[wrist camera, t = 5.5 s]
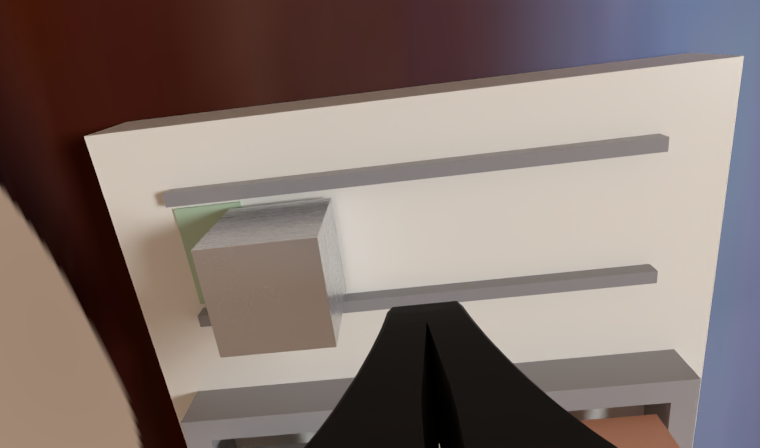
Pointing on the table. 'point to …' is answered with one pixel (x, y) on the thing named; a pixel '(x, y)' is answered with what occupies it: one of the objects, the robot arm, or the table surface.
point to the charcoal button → (283, 446)
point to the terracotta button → (633, 431)
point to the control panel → (450, 232)
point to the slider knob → (273, 278)
